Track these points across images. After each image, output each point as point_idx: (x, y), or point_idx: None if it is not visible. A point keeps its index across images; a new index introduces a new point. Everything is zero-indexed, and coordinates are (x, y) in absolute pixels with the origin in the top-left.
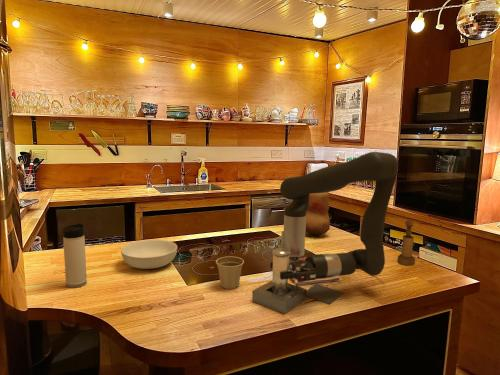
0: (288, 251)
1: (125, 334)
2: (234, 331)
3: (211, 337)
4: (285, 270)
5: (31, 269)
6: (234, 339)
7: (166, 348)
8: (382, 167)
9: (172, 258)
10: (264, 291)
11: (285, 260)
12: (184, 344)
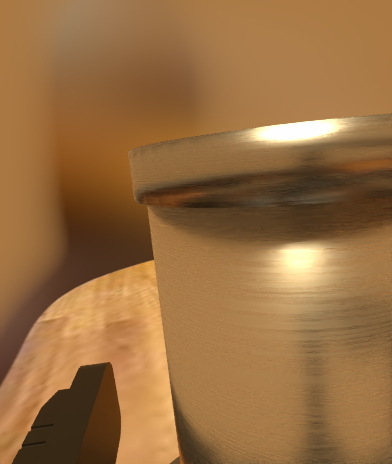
0: (259, 130)
1: (143, 263)
2: (50, 372)
3: (60, 334)
4: (179, 440)
5: None
6: (11, 371)
7: (74, 292)
8: None
9: None
10: None
11: (160, 283)
12: (68, 305)
